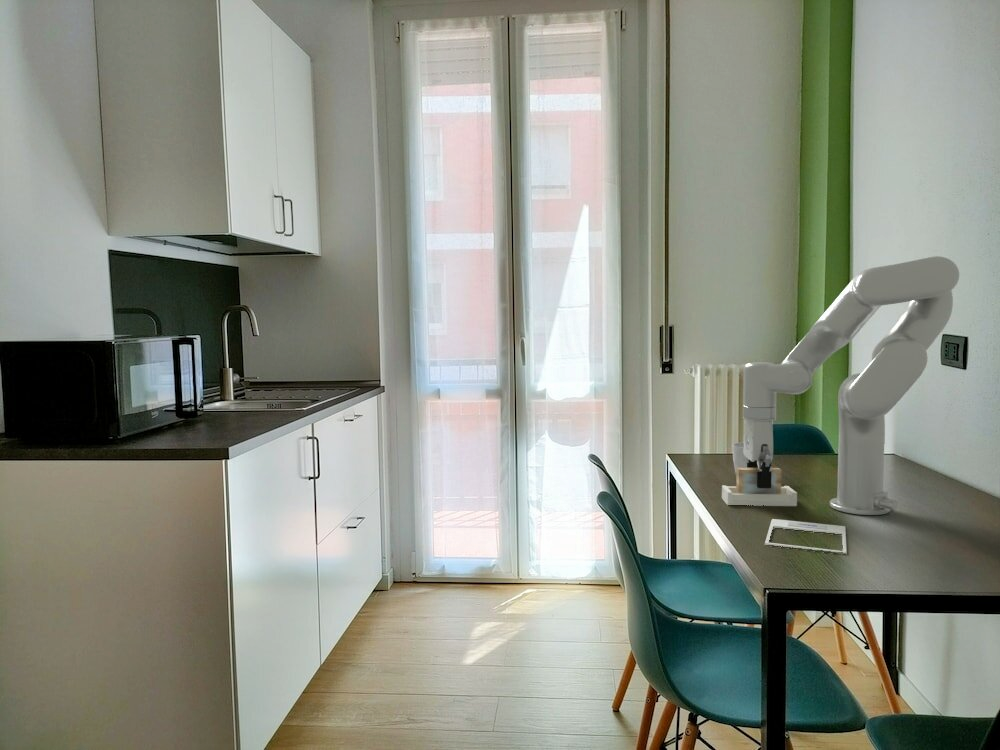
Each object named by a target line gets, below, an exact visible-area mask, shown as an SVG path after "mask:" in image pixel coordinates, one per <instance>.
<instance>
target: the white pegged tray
mask: <svg viewBox="0 0 1000 750" xmlns="http://www.w3.org/2000/svg"><path fill="white" fill-rule="evenodd" d="M721 499H722V500H723V501H724V503H725V504H726V505H727V506H728V505H747V506H748V505H749V507H753V506H754V507H797V506H798V492H797V491H795V490H794V489H793V488H791V487H790V486H789V485H784V486H781V494H736V485H735V486H728V485H723V484H722V485H721ZM750 505H751V506H750ZM752 505H753V506H752ZM763 505H764V506H763ZM747 506H746V507H747Z"/></svg>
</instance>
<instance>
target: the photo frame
mask: <svg viewBox="0 0 1000 750" xmlns="http://www.w3.org/2000/svg"><path fill="white" fill-rule="evenodd" d="M773 527H774V528H773ZM775 528H783V529H782V530H785V529H794V530H804V531H813V532H812V533H814V532H826V533H835V534H842V535H841V539H842V541H841V542H842V545H843V549H842V550H838V549H837V550H836V549H830V548H829V549H828V548H820V547H809V546H803V545H795V544H793V545H792V544H783V543H775V542H770V541H769V540H771V538H770V536H771V537H772V534H773V531H774V529H775ZM772 530H773V531H772ZM794 530H793V531H794ZM804 531H803V532H804ZM846 532H847V531H846V525H845V526H844V525H835V524H825V523H816V522H807V521H799V520H798V521H796V520H788V519H775V518H772V519H771V521H770V524H769V528H768V531H767V535H766V539H765V542H764V546H765V545H774V546H781V547H782V546H783V547H791V548H792V547H793V548H802V549H812V550H823V551H831V552H843V553H846V554H847V536H846V535H847V534H846ZM771 533H772V534H771ZM842 545H841V546H842ZM781 547H780V548H781Z"/></svg>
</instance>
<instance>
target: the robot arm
mask: <svg viewBox="0 0 1000 750" xmlns="http://www.w3.org/2000/svg"><path fill="white" fill-rule="evenodd" d="M959 278H960V271H959V267H958V266H957V264H956V263H955V262H954V261H953V260H951V259H949V258H947V257H945V256H935V255H934V256H930V257H925V258H920V259H915V260H910V261H905V262H900V263H895V264H889V265H884V266H883V265H882V266H876V267H875V266H874V267H871V268H866V269H864V270H861V271H860V272H859V273H857V274H856V275H855V276H853V278H852V279H851V280H850V282H849V283H848V284H847V285H846V286H845V288H844V289H843V290H842V291H841V292H840V293H839V295H838V296H837V297H836V298H835V300H833V302H832V303H831V304H830V305H829V306H828V308H827V309H826V310H825V311H824V313H822V315H821V316H820V317H819V319H817V321H815V323H814V324H813V325H812V327H811V328H810V330H809V331H807V333H806V334H805V335H804V337H803V338H802V339H801V340H800V341H799V342H798V344H797V345H796V346H795V347H794V348H793V349H792V350H791V352H789V354H787V356H786V357H785V359H784V360H783V361H782V362H781V363H779V364H774V363H773V362H769V361H768V362H766V361H754V362H753V361H752V362H747V363H746V364H745V365H744V366H743V386H742V387H743V391H742V392H743V394H742V403H743V404H742V419H743V420H745V421H744V429H743V431H744V432H743V442H744V445H743V454H744V456H745V457H747V468H758V470H759V471H757V487H758V488H771V471H772V468H773V467H772V461H773V459H774V457H773V456H774V434H773V433H774V432H773V431H774V428H773V426H774V425H773V422H774V421H776V420H777V393H782V394H789V395H801V394H803V393H805V392H806V391H808V390H809V389H810V388H811V386H812V384H813V375H815V373H816V372H817V371H818V370H819V369H820V367H821V366H822V365H823V364H824V363H825V362H826V361H827V360H828V359H829V358H830V357H831V356H832V355H833V354H834V353H836V352H837V351H838V350H840V349H842V348H844V347H845V346H846V345H848V344H849V343H850V342H851V341H852V340H853V339H854V338H855V336H857V334H858V333H859V332H860V331H861V329H862V328H863V327H864V326H865V325H866V324H867V322H869V320H870V319H871V318H872V317H873V316H874V315H875V313H876V312H877V311H878V310H879V309H880V308H881V307H882V306H887V305H889V306H890V305H895V304H901V303H902V304H903V303H907V302H909V303H908V306H907V307H906V309H905V311H904V312H903V314H902V315H901V316H900V317H899V319H898V320H897V321H896V323H895V324H894V325H893V326H892V327H891V329H889V331H888V332H887V333H886V334H885V335H884V336H883V338H882V339H881V340H879V342H878V343H877V344H876V345H875V347H874V348H873V350H872V352H871V361H869V363H868V364H867V366H866V367H865V368H864V370H863V371H861V372H859V373H854V374H851V375H850V376H848V377H846V378H845V379H843V381H842V383H841V384H840V386H839V389H838V393H837V394H838V396H837V406H838V409H837V410H838V445H837V446H838V447H837V448H838V451H837V488H836V489H837V491H836V492H837V493H836V495H837V496H836V497H834V498H831V499H830V500H829V506H830V507H831V508H832V509H833V510H836V511H839V512H843V513H847V514H854V515H862V516H880V515H886V514H889V513H890V512H891V510H893V511H896V510H897V509H898V506H899V500H898V499H893V498H889V494H888V493H889V492H888V491H885V490H884V474H885V473H884V471H885V469H884V467H885V444H886V441H885V440H886V432H885V431H886V426H885V425H886V420H885V416H886V414H888V413H889V412H890V411H891V410H892V409H893V408H894V407H895V406H896V405H897V403H898V402H899V401H901V399H902V398H903V397H904V395H906V393H907V392H908V391H909V390H910V389H911V388H912V386H914V384H915V383H916V382H917V381H918V379H919V378H920V377H921V376H922V374H923V373H924V371H925V369H926V367H927V364H928V357H929V356H928V352H927V350H928V349H929V348H930V347H931V346H932V344H933V343H934V342H935V340H936V339H937V337H939V335H940V334H941V333H942V332H943V330H944V329H945V328H946V327H947V324H948V323H949V321H950V318H951V316H952V312H953V307H954V305H953V303H954V299H953V297H954V296H953V290H954V289H955V287H956V286H957V284H958V283H959V280H960V279H959ZM761 463H762V466H761Z"/></svg>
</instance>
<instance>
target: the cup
mask: <svg viewBox="0 0 1000 750" xmlns="http://www.w3.org/2000/svg"><path fill="white" fill-rule="evenodd" d="M743 445H744V441H743V442H734V443H732V460H733V467H734V472H735V474H736V468H747V457H745V456H744V454H743ZM761 466H762V463H761Z"/></svg>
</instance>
